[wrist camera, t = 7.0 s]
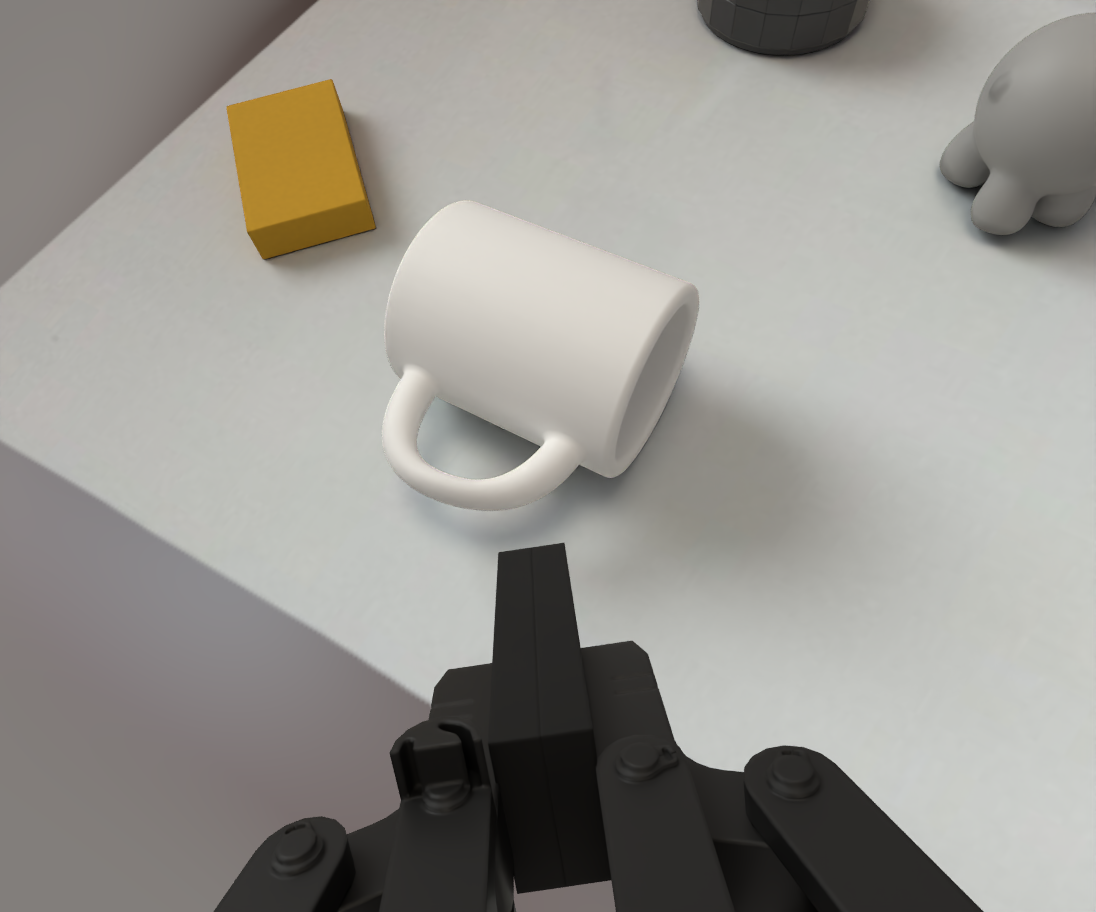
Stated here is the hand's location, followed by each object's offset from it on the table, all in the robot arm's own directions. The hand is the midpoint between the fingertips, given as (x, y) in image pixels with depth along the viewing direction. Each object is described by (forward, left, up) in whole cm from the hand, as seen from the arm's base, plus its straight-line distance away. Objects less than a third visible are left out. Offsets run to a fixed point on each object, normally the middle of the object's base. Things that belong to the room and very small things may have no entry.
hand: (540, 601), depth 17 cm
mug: (+2, +11, -12) cm, 17 cm away
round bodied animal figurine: (+31, +15, -12) cm, 37 cm away
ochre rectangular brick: (-5, +30, -12) cm, 33 cm away
